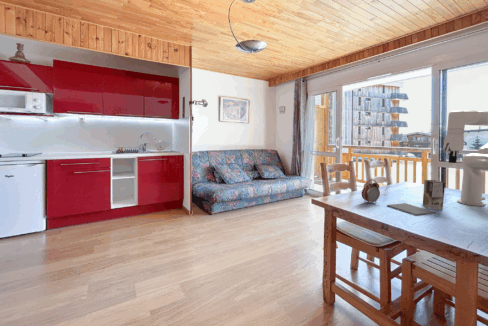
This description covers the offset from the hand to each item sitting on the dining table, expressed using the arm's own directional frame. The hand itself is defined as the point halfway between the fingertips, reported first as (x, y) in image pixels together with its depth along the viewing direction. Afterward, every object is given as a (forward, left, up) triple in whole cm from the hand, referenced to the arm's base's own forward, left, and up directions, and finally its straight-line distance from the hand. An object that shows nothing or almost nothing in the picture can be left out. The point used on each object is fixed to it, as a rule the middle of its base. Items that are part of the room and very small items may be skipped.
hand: (452, 162), depth 139 cm
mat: (+30, 0, -27) cm, 40 cm away
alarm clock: (+41, -18, -27) cm, 52 cm away
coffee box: (+13, 0, -27) cm, 30 cm away
